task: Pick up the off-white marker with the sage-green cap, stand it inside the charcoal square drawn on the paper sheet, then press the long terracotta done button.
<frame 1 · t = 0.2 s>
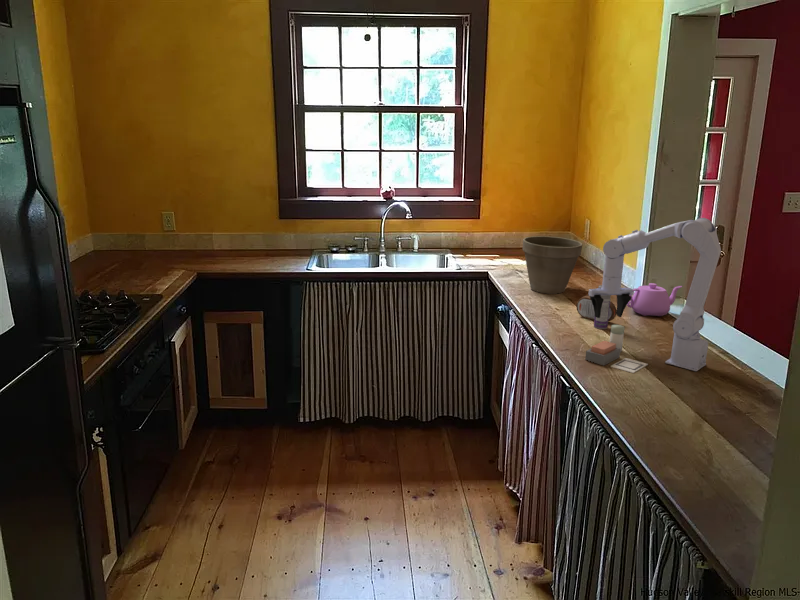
hand: (608, 316, 209), 10 cm above the worktop, tool pointing down, fingers open, 7 cm apart
container: (600, 327, 230), on the worktop
done button: (603, 347, 198), point 4 cm above the worktop, slide at 0.0 cm
button housing: (602, 358, 199), on the worktop
teapot: (652, 313, 249), on the worktop
plant pot: (548, 290, 280), on the worktop
tin: (594, 320, 239), on the worktop
paper sheet: (629, 365, 194), on the worktop
marker: (615, 350, 207), on the worktop
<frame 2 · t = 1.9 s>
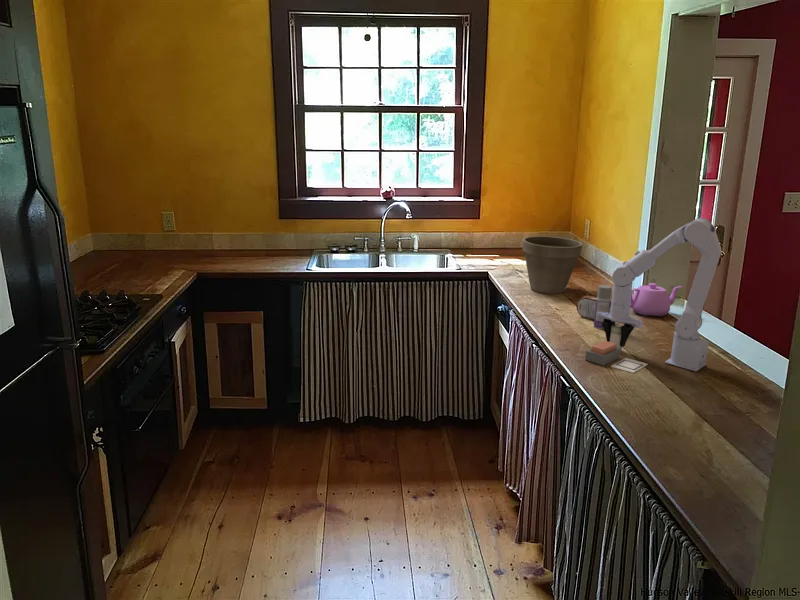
hand: (615, 344, 206), 2 cm above the worktop, tool pointing down, fingers closed on marker, 4 cm apart
marker: (615, 350, 207), on the worktop, touching gripper
everything else where it was.
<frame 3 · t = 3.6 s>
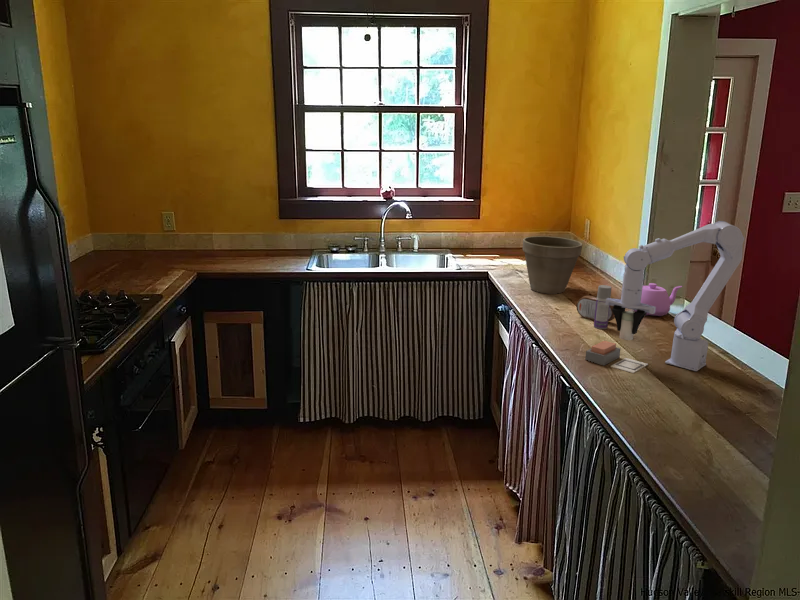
hand: (626, 331, 197), 9 cm above the worktop, tool pointing down, fingers closed on marker, 4 cm apart
marker: (626, 337, 197), point 7 cm above the worktop, touching gripper
everything else where it was.
when the fingers open (3 cm above the worktop, at t = 5.7 s): marker stays where it is, resting on paper sheet.
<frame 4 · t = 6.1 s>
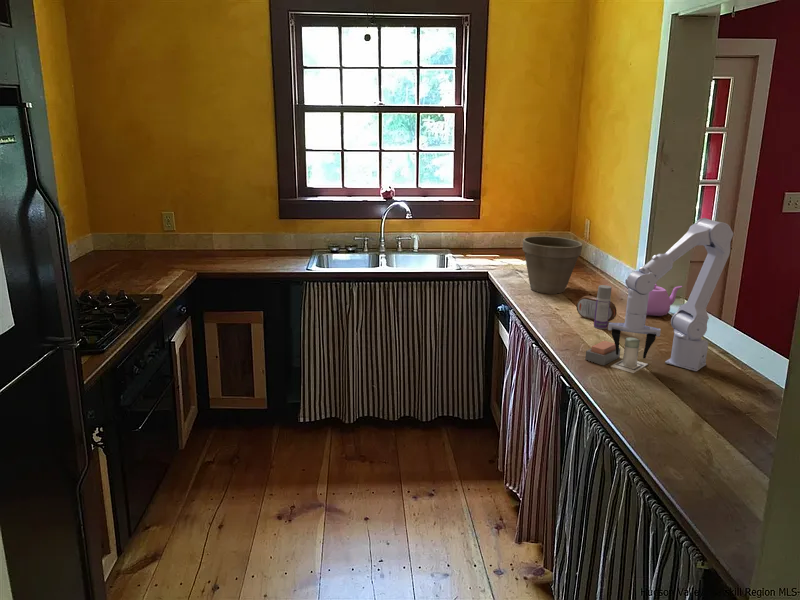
hand: (630, 355, 193), 3 cm above the worktop, tool pointing down, fingers open, 7 cm apart
marker: (629, 364, 194), resting on paper sheet
everything else where it was.
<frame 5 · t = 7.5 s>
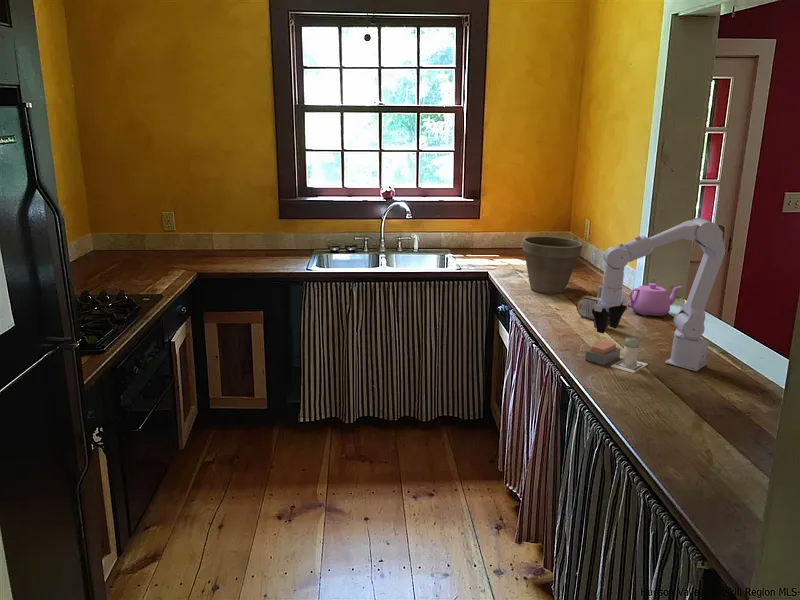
hand: (607, 330, 196), 9 cm above the worktop, tool pointing down, fingers open, 7 cm apart
nothing on the worktop moved.
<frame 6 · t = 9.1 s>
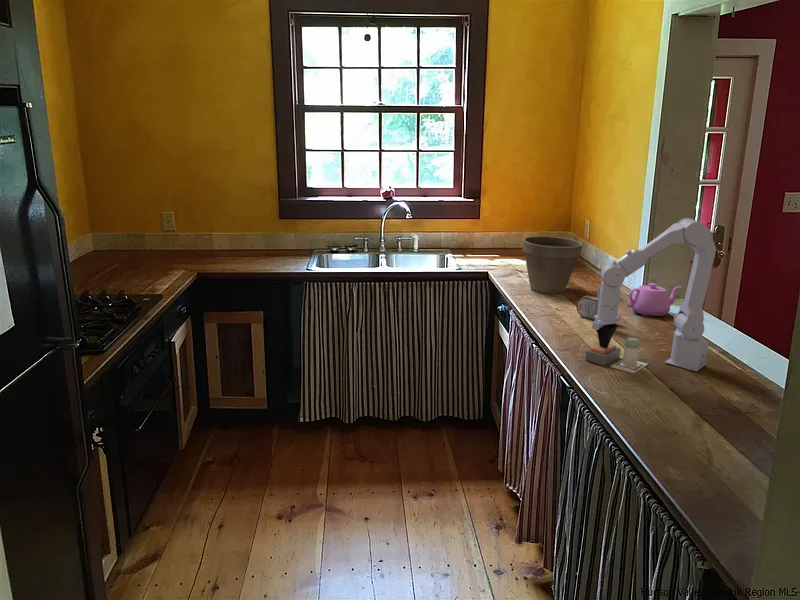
hand: (603, 346, 198), 4 cm above the worktop, tool pointing down, fingers closed, pressing on done button
done button: (603, 349, 198), point 3 cm above the worktop, slide at 0.6 cm, touching gripper
everything else where it was.
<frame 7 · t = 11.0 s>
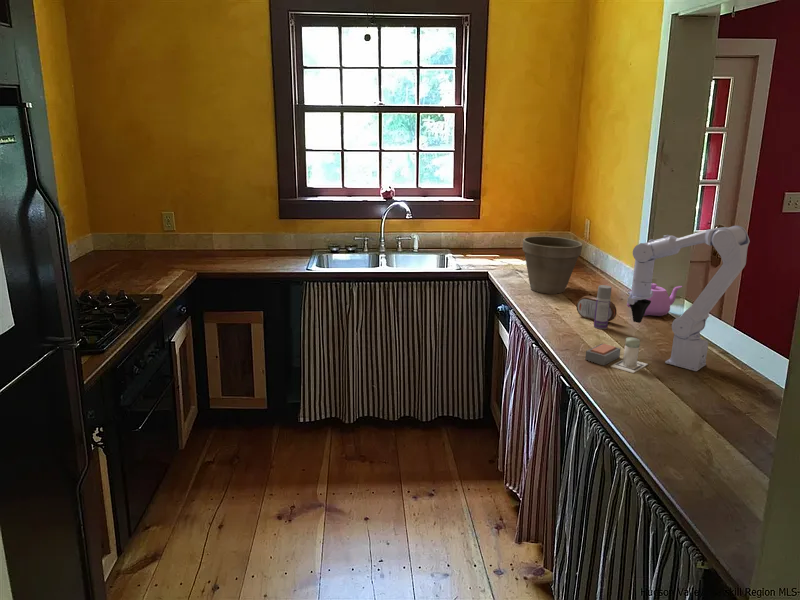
hand: (637, 321, 205), 9 cm above the worktop, tool pointing down, fingers closed
done button: (603, 350, 198), point 3 cm above the worktop, slide at 1.0 cm
everything else where it was.
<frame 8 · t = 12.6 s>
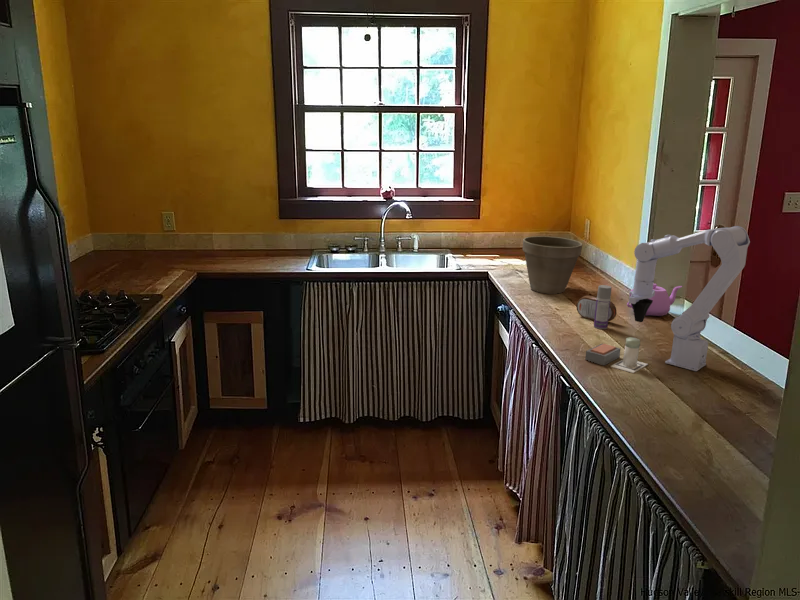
hand: (638, 321, 206), 9 cm above the worktop, tool pointing down, fingers closed
nothing on the worktop moved.
at the end: marker 0.0 cm off-centre on the paper sheet, point 0.3 cm above the paper sheet's base; marker tilted 1°; done button slide at 1.0 cm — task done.
